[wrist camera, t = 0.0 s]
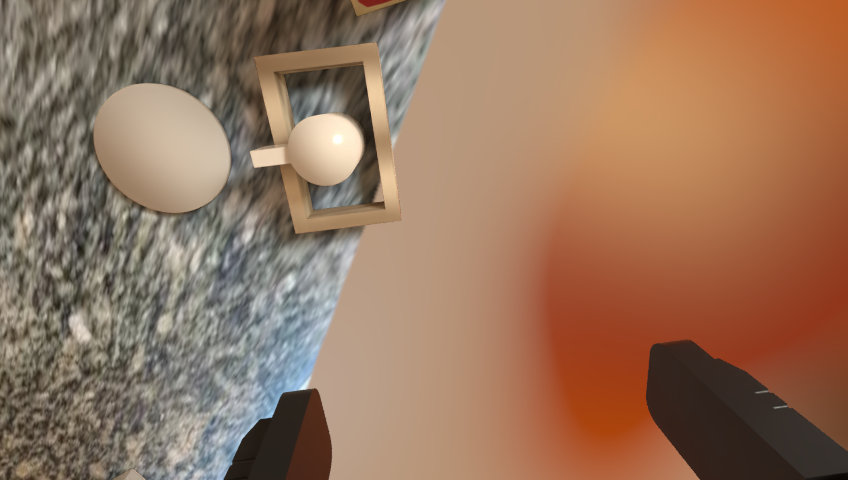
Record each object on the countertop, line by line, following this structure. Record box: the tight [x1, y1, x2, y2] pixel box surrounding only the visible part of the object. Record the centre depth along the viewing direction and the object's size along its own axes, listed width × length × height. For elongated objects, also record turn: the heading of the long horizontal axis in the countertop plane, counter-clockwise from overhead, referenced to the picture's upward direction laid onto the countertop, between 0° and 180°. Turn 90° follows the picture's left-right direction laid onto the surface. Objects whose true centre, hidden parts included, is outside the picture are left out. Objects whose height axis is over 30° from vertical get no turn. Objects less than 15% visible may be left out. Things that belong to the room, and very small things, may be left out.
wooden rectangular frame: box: [254, 42, 401, 234], centre depth 34 cm, size 14×9×3 cm, turn 7°
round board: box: [94, 83, 232, 213], centre depth 35 cm, size 11×11×1 cm
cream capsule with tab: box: [250, 112, 366, 186], centre depth 32 cm, size 5×8×8 cm, turn 96°
